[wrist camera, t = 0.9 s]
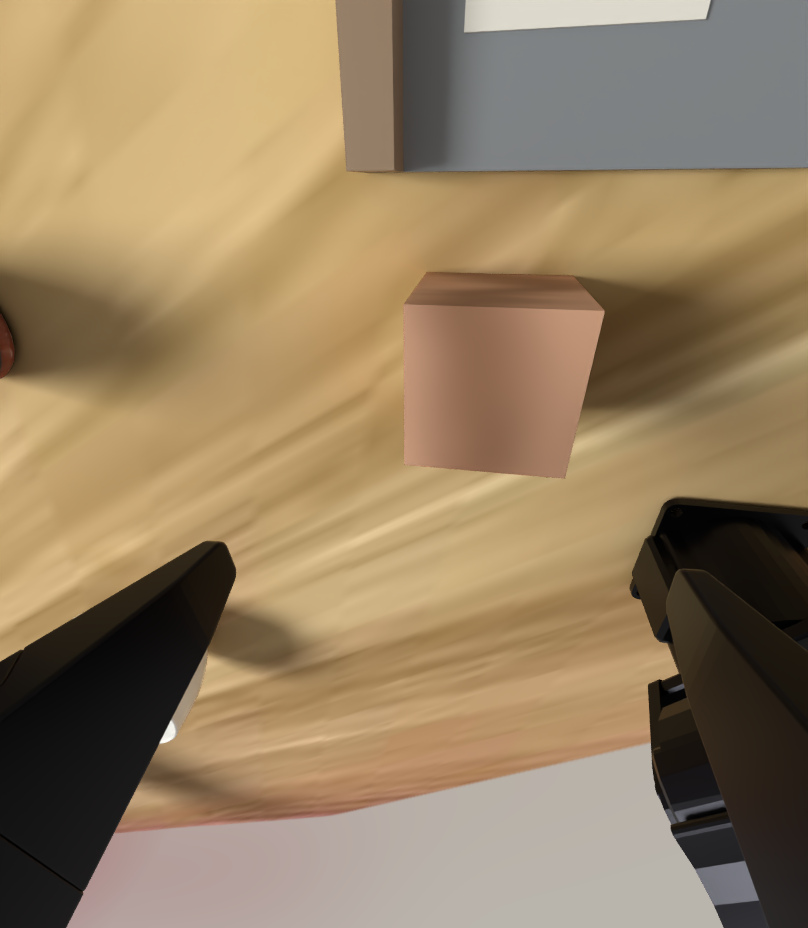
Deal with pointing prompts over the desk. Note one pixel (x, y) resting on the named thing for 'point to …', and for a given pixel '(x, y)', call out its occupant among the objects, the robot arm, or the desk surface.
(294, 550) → the desk surface
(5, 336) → the supplement bottle
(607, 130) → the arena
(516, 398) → the cube
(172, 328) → the desk surface
